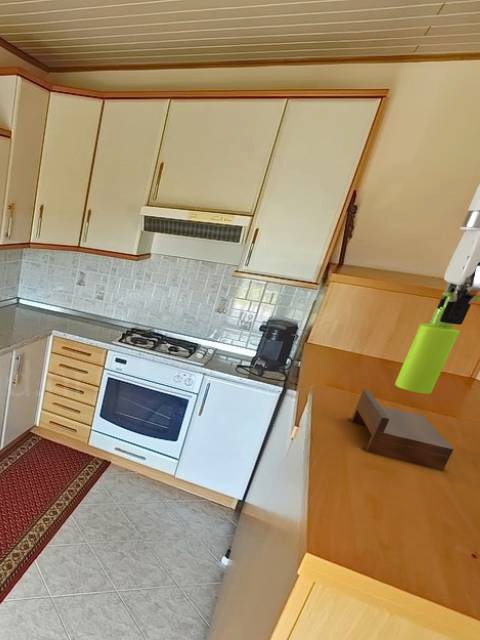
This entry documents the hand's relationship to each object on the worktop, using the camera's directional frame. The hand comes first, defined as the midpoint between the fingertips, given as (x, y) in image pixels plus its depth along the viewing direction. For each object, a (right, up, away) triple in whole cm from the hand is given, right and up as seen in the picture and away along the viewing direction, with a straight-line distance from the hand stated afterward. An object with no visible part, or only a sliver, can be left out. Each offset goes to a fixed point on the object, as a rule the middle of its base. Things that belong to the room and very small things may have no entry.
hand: (447, 320), depth 96 cm
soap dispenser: (-1, -14, +5) cm, 15 cm away
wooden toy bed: (-3, -25, +9) cm, 27 cm away
